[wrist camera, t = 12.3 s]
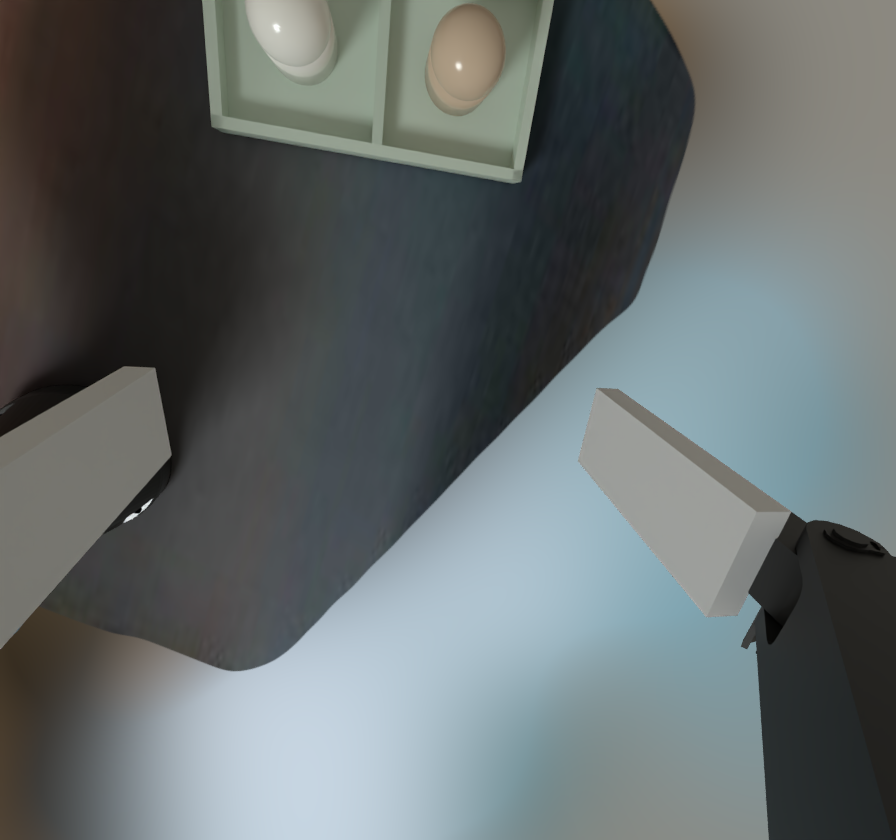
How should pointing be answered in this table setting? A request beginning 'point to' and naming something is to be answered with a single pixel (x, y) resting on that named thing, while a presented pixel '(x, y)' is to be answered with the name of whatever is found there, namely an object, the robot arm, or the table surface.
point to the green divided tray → (380, 87)
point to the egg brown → (464, 59)
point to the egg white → (296, 37)
